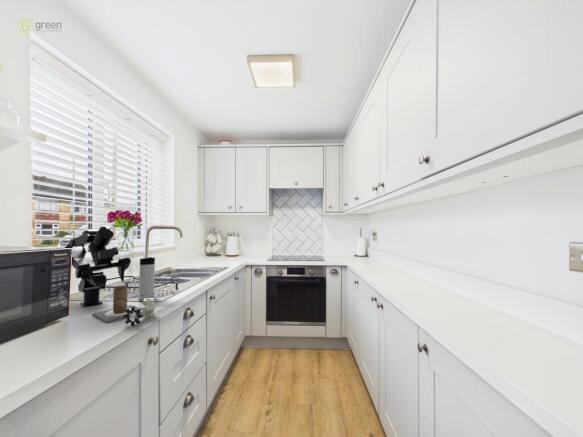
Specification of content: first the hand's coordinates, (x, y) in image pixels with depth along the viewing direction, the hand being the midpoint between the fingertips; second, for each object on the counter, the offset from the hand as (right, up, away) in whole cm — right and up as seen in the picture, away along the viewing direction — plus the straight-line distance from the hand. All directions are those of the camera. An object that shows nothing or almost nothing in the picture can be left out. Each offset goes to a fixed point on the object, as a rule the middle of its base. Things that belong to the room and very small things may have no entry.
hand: (110, 283), depth 109 cm
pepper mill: (+7, -10, -4) cm, 13 cm away
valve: (+19, -11, -11) cm, 24 cm away
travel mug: (+6, -12, +16) cm, 21 cm away
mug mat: (+7, -11, -5) cm, 14 cm away
